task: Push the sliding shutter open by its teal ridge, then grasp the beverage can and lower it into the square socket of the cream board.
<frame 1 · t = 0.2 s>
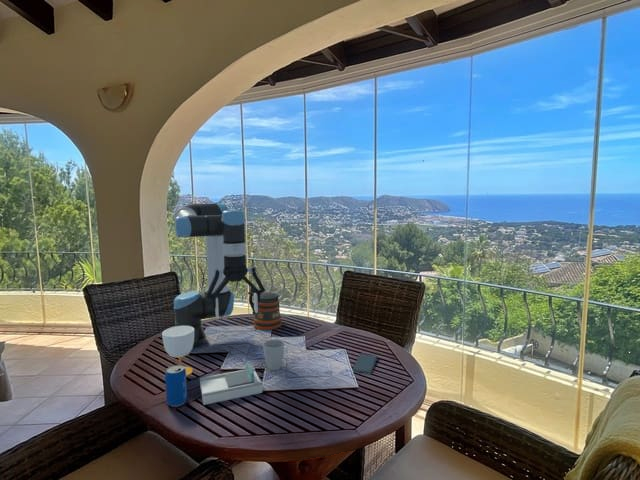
hand: (237, 314, 134), 27 cm above the table, fingers open, 13 cm apart
cup 2: (180, 373, 148), on the table
cup: (274, 367, 152), on the table
beer stein: (264, 325, 200), on the table
shutter: (238, 374, 136), point 5 cm above the table, slide at 0.0 cm
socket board: (230, 390, 135), on the table
beverage can: (177, 403, 127), on the table
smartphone: (365, 365, 155), on the table
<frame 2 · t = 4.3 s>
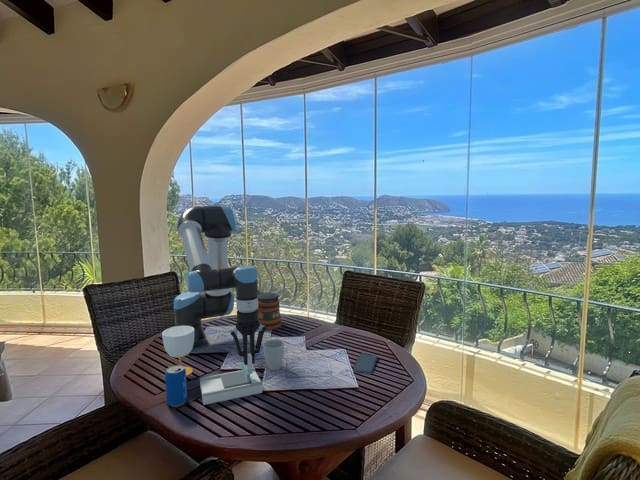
hand: (249, 372, 137), 5 cm above the table, fingers closed
shutter: (235, 375, 135), point 5 cm above the table, slide at 1.4 cm, touching gripper
everything else where it was.
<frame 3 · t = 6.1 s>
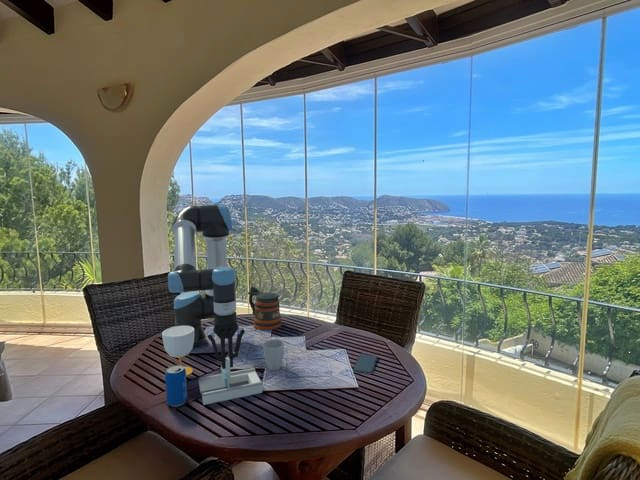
hand: (227, 376, 134), 5 cm above the table, fingers closed
shutter: (212, 379, 132), point 5 cm above the table, slide at 9.1 cm, touching gripper
everything else where it was.
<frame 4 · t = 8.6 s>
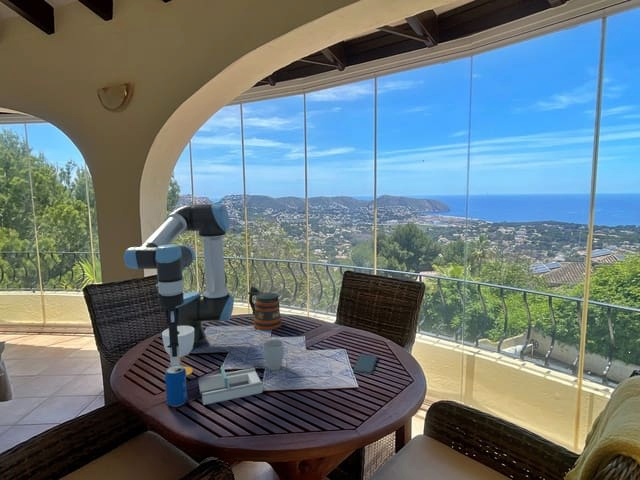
hand: (174, 359, 125), 15 cm above the table, fingers open, 8 cm apart
shutter: (212, 379, 132), point 5 cm above the table, slide at 9.2 cm
everything else where it was.
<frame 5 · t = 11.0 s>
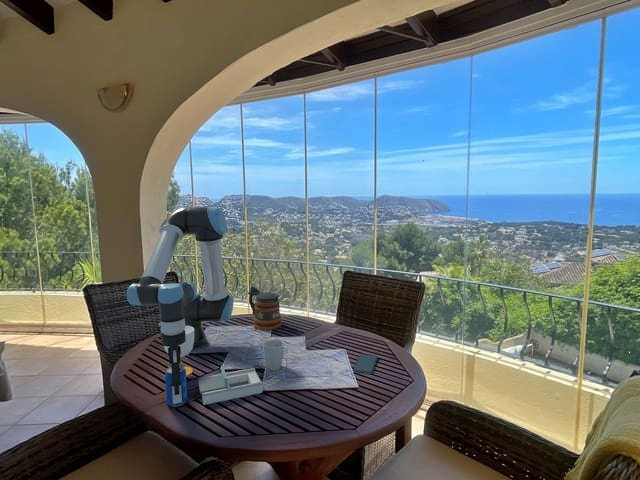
hand: (177, 396, 127), 2 cm above the table, fingers closed on beverage can, 6 cm apart
beverage can: (177, 403, 127), on the table, touching gripper
everything else where it was.
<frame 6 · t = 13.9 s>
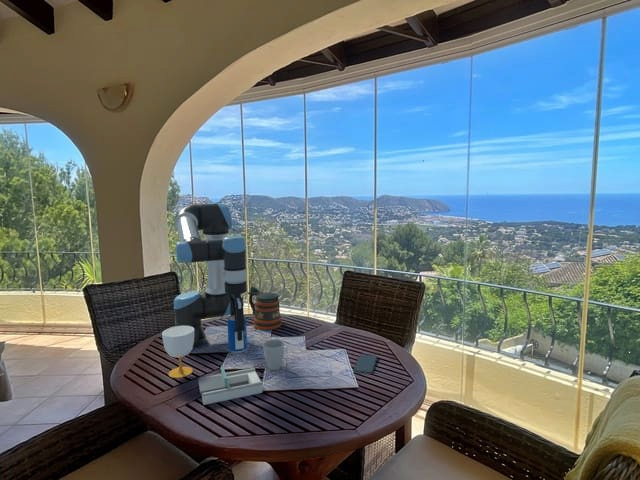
hand: (237, 344, 134), 17 cm above the table, fingers closed on beverage can, 6 cm apart
beverage can: (237, 350, 134), point 14 cm above the table, touching gripper
everything else where it was.
when the fingers open (4 cm above the table, at t = 16.9 s): beverage can drops 2 cm, resting on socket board.
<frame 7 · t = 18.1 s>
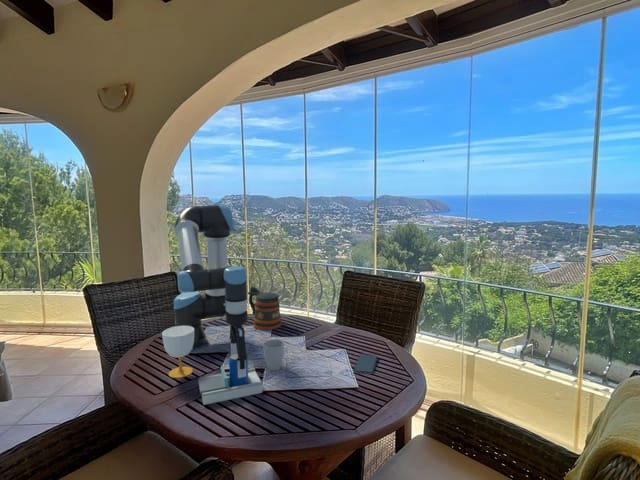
hand: (238, 368, 136), 8 cm above the table, fingers open, 13 cm apart
beverage can: (239, 388, 136), resting on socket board
everything else where it was.
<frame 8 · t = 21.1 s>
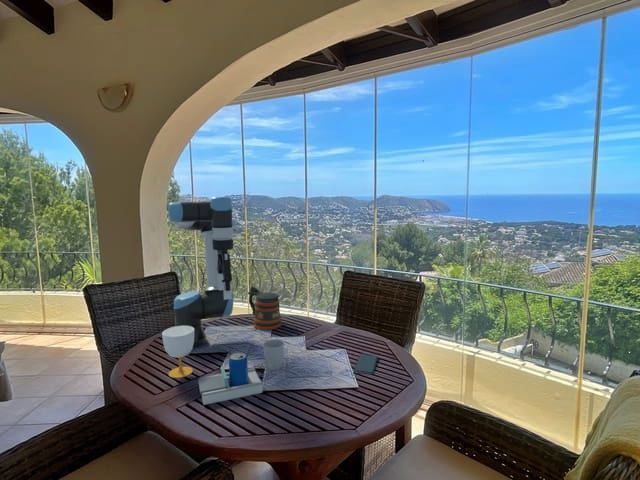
hand: (224, 294, 143), 32 cm above the table, fingers open, 13 cm apart
nothing on the table moved.
at the end: shutter slide at 9.2 cm; beverage can 0.1 cm from the target spot on the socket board, point 0.1 cm above the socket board's base; beverage can tilted 0° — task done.
